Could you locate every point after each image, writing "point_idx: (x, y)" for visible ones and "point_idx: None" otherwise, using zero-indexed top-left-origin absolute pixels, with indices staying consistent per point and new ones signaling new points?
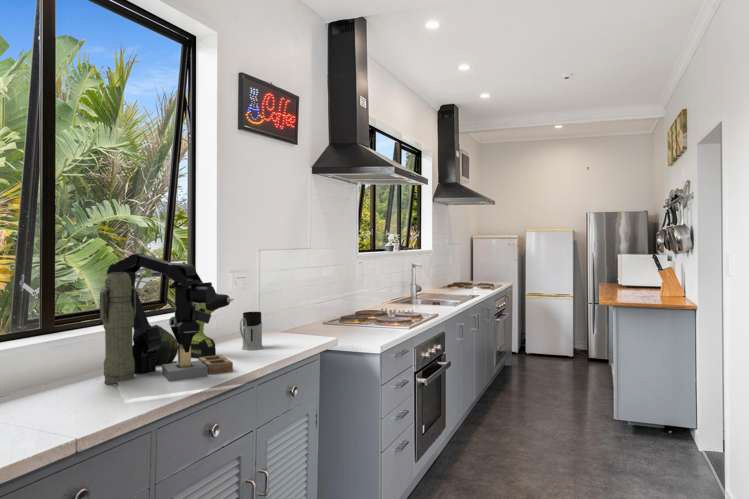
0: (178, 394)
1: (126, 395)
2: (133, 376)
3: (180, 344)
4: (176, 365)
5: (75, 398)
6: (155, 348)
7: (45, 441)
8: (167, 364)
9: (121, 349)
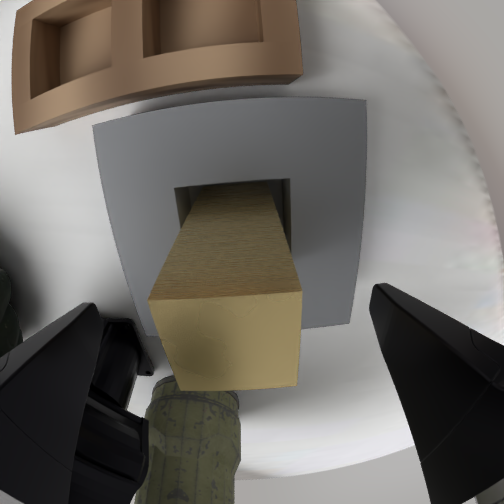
0: (471, 263)
1: (378, 380)
2: None
3: (211, 378)
4: None
5: (324, 439)
6: (84, 409)
7: None
8: None
9: (232, 500)
